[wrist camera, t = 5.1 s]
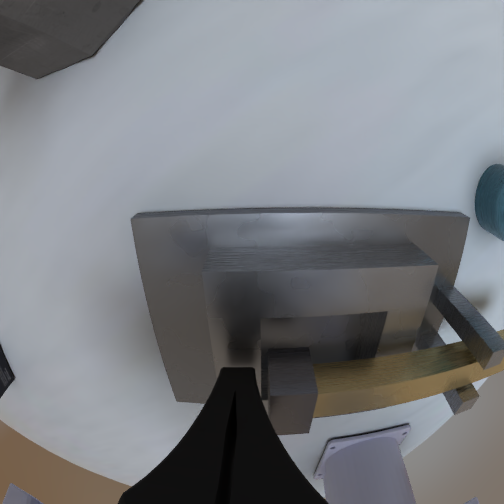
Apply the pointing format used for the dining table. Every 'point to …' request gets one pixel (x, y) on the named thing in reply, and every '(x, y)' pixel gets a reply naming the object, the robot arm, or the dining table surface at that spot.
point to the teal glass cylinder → (491, 201)
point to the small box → (4, 374)
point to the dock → (265, 225)
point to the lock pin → (362, 382)
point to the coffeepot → (56, 32)
